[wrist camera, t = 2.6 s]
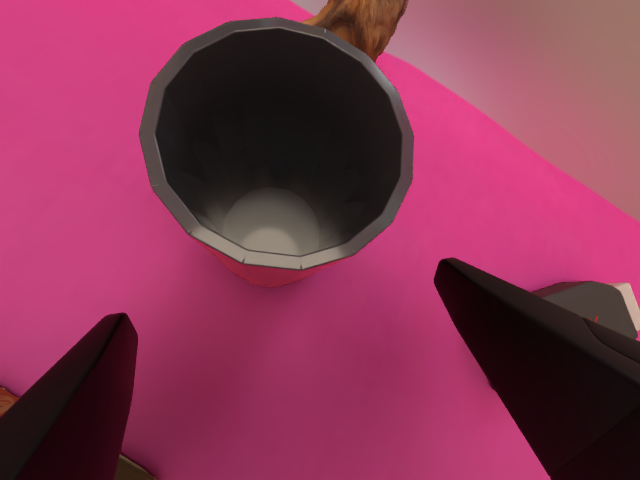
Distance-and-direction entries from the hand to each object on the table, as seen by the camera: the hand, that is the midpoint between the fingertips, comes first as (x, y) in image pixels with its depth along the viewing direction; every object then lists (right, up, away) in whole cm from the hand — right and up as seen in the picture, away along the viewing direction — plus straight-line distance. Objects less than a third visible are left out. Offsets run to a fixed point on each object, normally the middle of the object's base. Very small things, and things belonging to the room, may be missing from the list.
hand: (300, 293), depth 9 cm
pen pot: (-3, +2, +11) cm, 11 cm away
